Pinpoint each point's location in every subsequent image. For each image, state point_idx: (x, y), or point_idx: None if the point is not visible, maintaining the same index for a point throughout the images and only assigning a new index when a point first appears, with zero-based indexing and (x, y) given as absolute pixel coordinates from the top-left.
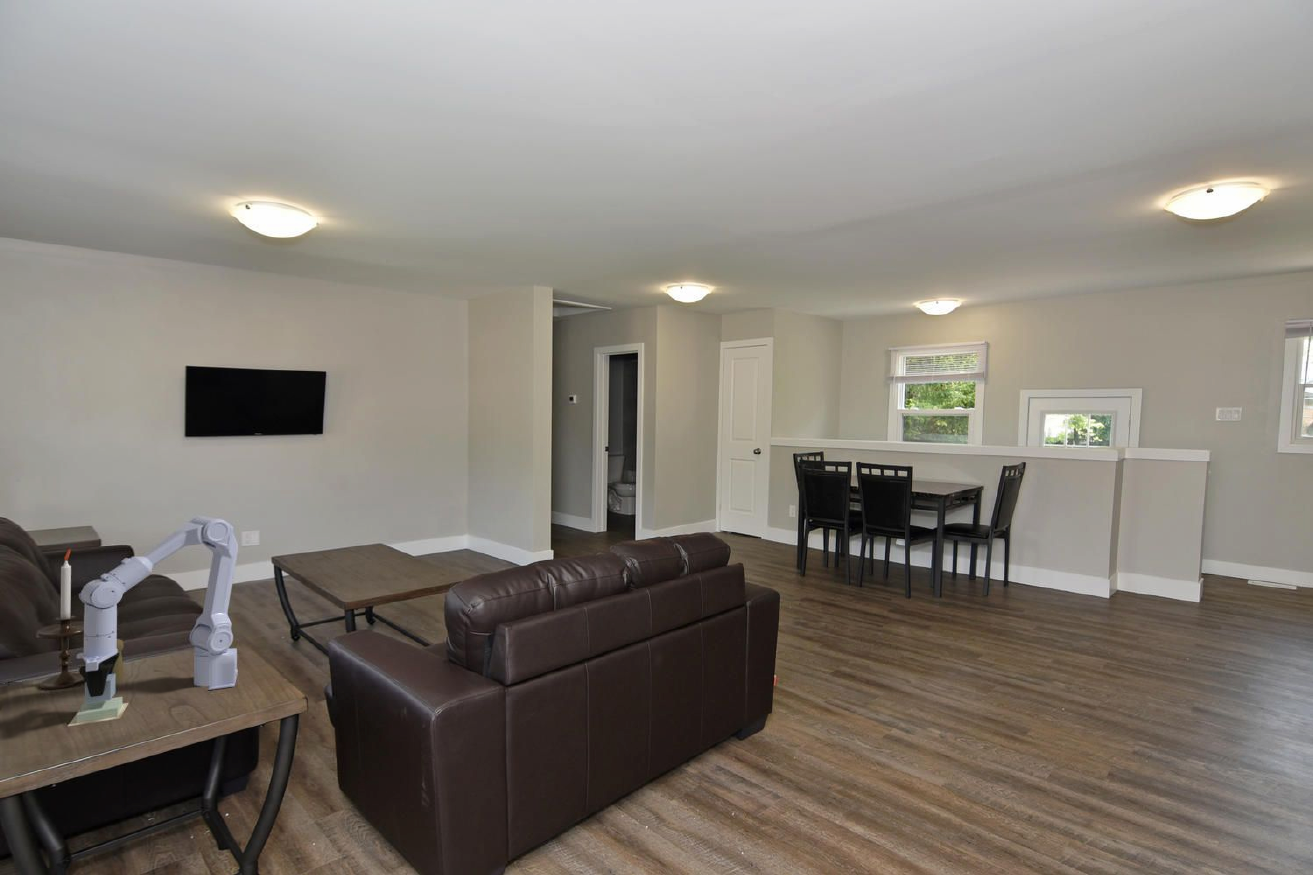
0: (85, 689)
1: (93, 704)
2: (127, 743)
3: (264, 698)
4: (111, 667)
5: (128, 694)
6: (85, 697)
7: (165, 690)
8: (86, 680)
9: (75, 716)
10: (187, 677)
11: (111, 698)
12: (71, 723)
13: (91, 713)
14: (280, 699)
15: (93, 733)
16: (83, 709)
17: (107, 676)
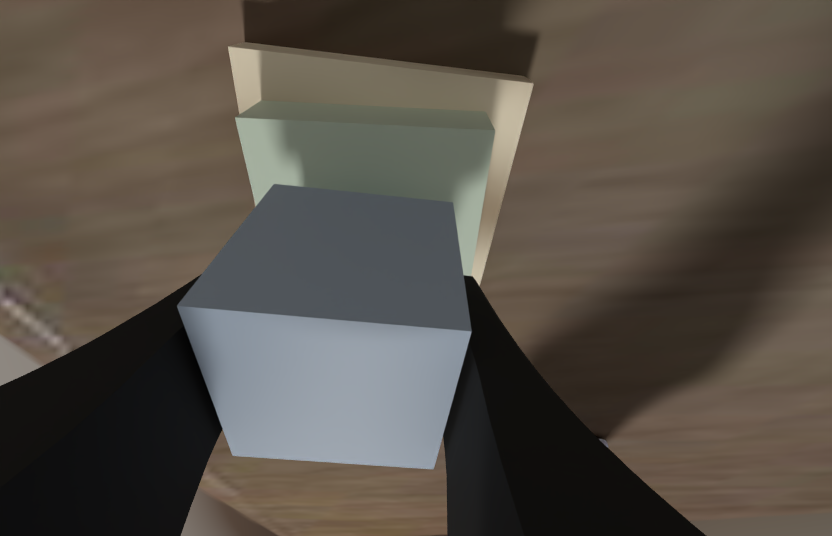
0: (219, 260)
1: (409, 196)
2: (43, 304)
3: (329, 517)
4: (452, 531)
5: (676, 276)
6: (253, 213)
7: (593, 379)
8: (18, 390)
9: (403, 73)
10: (686, 423)
11: (468, 275)
12: (271, 65)
13: (258, 196)
14: (306, 531)
15: (177, 183)
16: (333, 147)
17: (372, 436)
